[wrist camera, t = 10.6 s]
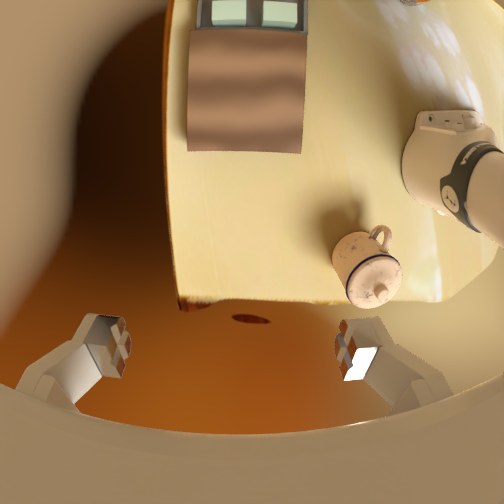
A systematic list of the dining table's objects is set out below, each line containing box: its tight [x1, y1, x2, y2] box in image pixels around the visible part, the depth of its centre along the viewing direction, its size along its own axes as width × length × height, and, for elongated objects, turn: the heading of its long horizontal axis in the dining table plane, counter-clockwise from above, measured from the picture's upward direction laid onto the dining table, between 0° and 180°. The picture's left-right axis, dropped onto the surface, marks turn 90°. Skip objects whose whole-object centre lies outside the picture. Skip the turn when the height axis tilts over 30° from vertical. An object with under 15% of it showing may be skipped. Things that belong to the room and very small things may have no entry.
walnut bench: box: [187, 29, 307, 154], centre depth 30 cm, size 16×14×4 cm
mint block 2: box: [261, 1, 297, 30], centre depth 25 cm, size 4×4×3 cm
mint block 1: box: [212, 0, 246, 27], centre depth 25 cm, size 4×4×3 cm
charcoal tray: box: [196, 0, 308, 34], centre depth 25 cm, size 10×14×2 cm
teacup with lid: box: [332, 225, 402, 308], centre depth 39 cm, size 12×9×12 cm
